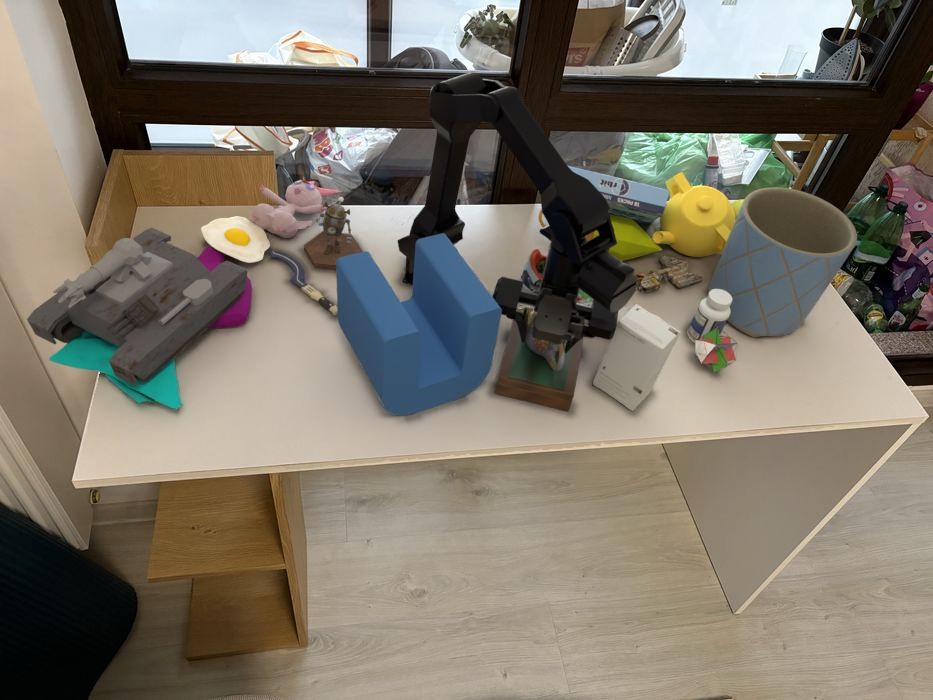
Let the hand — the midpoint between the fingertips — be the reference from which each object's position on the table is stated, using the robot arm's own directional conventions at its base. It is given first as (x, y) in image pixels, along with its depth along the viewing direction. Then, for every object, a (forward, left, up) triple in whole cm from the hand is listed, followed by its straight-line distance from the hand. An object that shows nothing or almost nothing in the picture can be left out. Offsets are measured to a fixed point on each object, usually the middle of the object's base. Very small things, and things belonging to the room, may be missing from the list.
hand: (544, 345), depth 117 cm
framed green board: (0, 0, -6) cm, 6 cm away
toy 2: (-54, +15, -3) cm, 56 cm away
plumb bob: (+6, +35, -6) cm, 36 cm away
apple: (+34, +50, -6) cm, 61 cm away
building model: (+20, +31, -6) cm, 38 cm away
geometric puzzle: (+31, +14, -2) cm, 34 cm away
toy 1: (-62, -11, -4) cm, 63 cm away
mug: (+1, 0, -2) cm, 2 cm away
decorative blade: (-42, +10, -6) cm, 44 cm away
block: (-20, -6, -6) cm, 22 cm away
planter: (+37, +29, -6) cm, 47 cm away
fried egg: (-57, +12, -4) cm, 59 cm away
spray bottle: (-57, +3, -6) cm, 57 cm away
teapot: (+23, +45, -4) cm, 51 cm away
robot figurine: (-41, +17, -6) cm, 45 cm away
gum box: (+7, +51, -4) cm, 52 cm away
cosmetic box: (+14, 0, -6) cm, 15 cm away
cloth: (-61, -19, -4) cm, 64 cm away
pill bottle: (+27, +17, -6) cm, 33 cm away
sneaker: (+4, +16, -6) cm, 18 cm away
